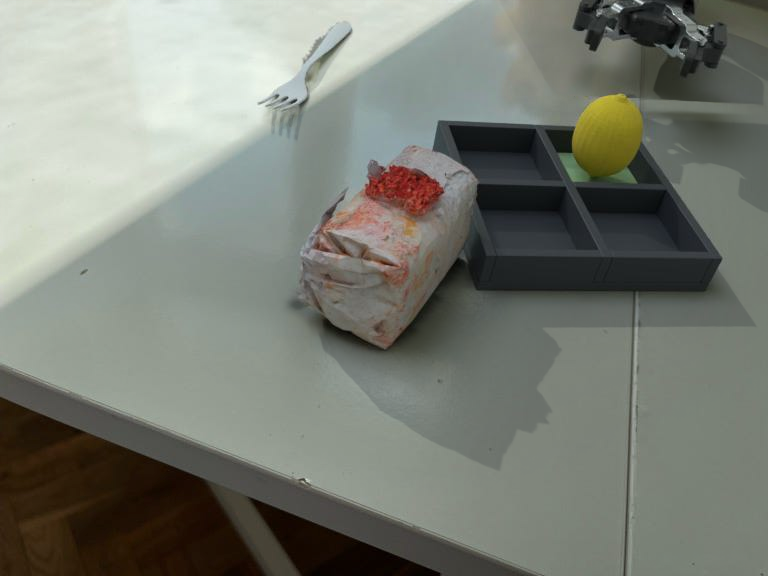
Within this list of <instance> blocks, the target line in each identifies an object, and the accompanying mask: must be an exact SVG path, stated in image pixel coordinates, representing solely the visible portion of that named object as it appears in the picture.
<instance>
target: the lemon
mask: <svg viewBox="0 0 768 576" xmlns="http://www.w3.org/2000/svg"><path fill="white" fill-rule="evenodd" d="M575 126H576V127H575V130H574V134H573V138H572V151H573V155H574V158H575V160H576V162H577V164H578V165H579V166H580V167H581V168H582V169H583V170H584V171H585V172H587V173H588V174H589V176H590V177H591V178H597V177H605V176H611V175H614V174H617V173H619V172H621V171H622V170H623V169H625V168H626V167H627V166H628V165H629V164H630V163H631V161H632V160H633V158H634V157H635V155H636V153H637V151H638V149H639V146H640V143H641V141H642V140H643V132H644V121H643V116H642V113H641V112H640V109H639V108H638V106H637V105H636V104H635V103H634V102H633V101H632V100H630V98H628V97H627V95H626V94H623V93H618V94H610V95H604V96H601V97H599V98H597V99H595V100H593V101H592V102H591V103H590V104H589V105H588V106H586V107H585V109H584V111H582V113H581V115H580V116H579V118H578V121H576V124H575Z"/></svg>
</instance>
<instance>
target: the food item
mask: <svg viewBox="0 0 768 576" xmlns="http://www.w3.org/2000/svg"><path fill="white" fill-rule="evenodd" d="M366 167H367V174H366V175H365V177H366V178H367V180H368V183H367V182H366V183H365V184H364V186H363V188H361V190H360V191H359V192H357V193H356V194H355V195H354V196H353V197H352V199H351V200H350V201H349V202H348V203H347V204H346V205H345V206H343V207H342V208H341V209H340V210H339V211H337V212H336V213H335V211H336V210H337V207H338V205H339V204H340V203H341V202H343V201H344V200H345V197H346V194H347V191H348V190H349V188H350V186H348V187H346V188H344V190H342V191H341V193H340V194H338V195H337V197H335V198H334V199H333V200H332V201H331V202H330V203H329V204H328V205H327V206H326V207H325V208H324V210H323V213H322V216H321V217H320V219H319V221H318V223H316V225H315V226H314V228H313V229H312V230H311V232H310V233H309V235H308V237H307V239H306V242H305V244H304V243H302V246H301V248H300V252H299V256H300V260H301V265H300V268H299V271H298V282H299V286H298V291H297V297H298V300H299V302H300V303H302V304H303V305H304V307H307V306H310V307H312V308H313V309H314V310H315V312H318V313H319V314H320V315H322V316H324V317H325V318H326V319H327V320H328V321H329V322H330V323H331V324H332V325H333V326H335V327H337V328H338V329H341V330H343V331H349V332H351V333H352V334H353V335H355V336H357V337H359V339H361V340H363V341H365V342H368V343H369V344H371V345H374V346H376V347H378V348H380V349H383V350H387V349H388V348H389V347H391V346H392V345H393V344H394V342H395V341H396V340H397V338H398V337H399V336H401V335H402V333H403V332H404V331H405V330H406V329H407V327H409V325H410V324H411V323H412V322H413V321H414V319H415V318H416V317H417V315H418V314H419V312H420V311H421V310H422V309H423V307H424V306H425V304H426V303H427V302H428V301H429V299H430V297H431V296H432V294H433V293H434V292H435V290H436V289H437V288H438V286H439V285H440V283H441V282H442V281H443V279H444V278H445V277H446V275H447V273H448V272H449V270H450V269H451V268H452V267H453V266H454V264H455V262H456V261H457V259H459V256H460V255H461V253H462V251H464V249H463V248H464V246H465V244H466V241H467V238H468V234H469V227H470V221H471V216H472V215H473V208H474V205H475V199H476V196H477V184H478V183H479V181H478V179H476V178H475V175H474V174H473V173H472V172H471V171H470V170H469V169H468V168H467V167H465V166H463V165H461V164H460V163H458V162H456V161H455V160H453V159H452V158H450V157H448V156H447V155H445V154H443V153H440V152H434V151H432V149H429V148H425V147H422V146H419V145H416V144H414V145H413V144H411V145H408V146H405V147H404V148H403V150H402V151H401V152H400V153H399V154H398V155H397V156H396V157H395V158H393V159H392V160H391V162H389V163H388V164H387V165H386V166H385V167H384V166H383V165H379V163H378V161H377V160H374V159H372V158H371V159H370V161H369V162H368V165H367V166H366ZM334 213H335V214H334Z"/></svg>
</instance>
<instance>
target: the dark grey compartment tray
mask: <svg viewBox="0 0 768 576" xmlns="http://www.w3.org/2000/svg"><path fill="white" fill-rule="evenodd" d="M575 127H576V125H575V126H574V125H557V124H556V125H552V124H532V123H514V122H513V123H511V122H510V123H509V122H508V123H507V122H492V121H491V122H487V121H469V120H468V121H464V120H446V119H445V120H444V119H442V120H441V119H438V120H437V125H436V130H435V135H434V141H433V145H432V149H431V151H434V152H440V153H443V154H445V155H447V156H448V157H450V158H452V159H453V160H455V161H456V162H458V163H460V164H461V165H463V166H465V167H467V168H468V169H469V170H470V171H471V172H472V173H473V174H474V175H475V178H476V179H478V181H479V183H478V184H477V196H476V199H475V205H474V208H473V215H472V216H471V221H470V227H469V234H468V238H467V241H466V244H465V246H464V248H463V252H464V255H465V258H466V261H467V264H468V266H469V270H470V274H471V277H472V280H473V283H474V286H475V289H476V290H477V291H622V292H623V291H628V292H629V291H631V292H633V291H635V292H637V291H639V292H640V291H643V292H645V291H646V292H647V291H654V292H655V291H658V292H661V291H662V292H663V291H665V292H666V291H667V292H674V291H675V292H683V291H684V292H706V291H707V289H708V287H709V285H710V283H711V281H712V279H713V278H714V276H715V274H716V273H717V270H718V269H719V267H720V264H721V263H722V261H723V256H722V255H721V254H720V252H719V251H718V249H717V248H716V247H715V245H714V243H713V242H712V240H711V239H710V238H709V236H708V235H707V233H706V232H705V231H704V229H703V228H702V226H701V225H700V224H699V222H698V220H697V219H696V217H695V215H693V213H692V211H690V209H689V208H688V206H687V205H686V203H685V201H684V200H683V199H682V197H681V196H680V195H679V193H678V191H676V189H675V187H674V186H673V184H672V183H671V181H670V180H669V178H668V177H667V176H666V174H665V173H664V171H663V170H662V168H661V167H660V166H659V164H658V163H657V161H656V159H654V157H653V156H652V154H651V153H650V151H649V150H648V148H647V147H646V145H645V144H644V143H643V141H642V140H641V143H640V146H639V149H638V151H637V153H636V155H635V157H634V158H633V160H632V161H631V163H630V164H629V165H628V166H627V167H626V168H625V169H623V170H622V171H621V172H619V173H617V174H614V175H611V176H605V177H597V178H591V177H590V176H589V174H588V173H587V172H585V171H584V170H583V169H582V168H581V167H580V166H579V165H578V164H577V162H576V160H575V158H574V155H573V151H572V138H573V134H574V130H575Z"/></svg>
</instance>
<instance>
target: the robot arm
mask: <svg viewBox="0 0 768 576" xmlns="http://www.w3.org/2000/svg"><path fill="white" fill-rule="evenodd" d="M698 4H699V0H615V1H613V0H580V2H579V4H578V9H577V11H576V14H575V18H574V21H573V25H572V29H573V30H574V31H577V32H584V31H585V30H586V34H585V38H584V44H585V45H588V51H591V52H594V53H596V52H597V50H598V48H599V46H600V44H601V42H602V40H603V39H604V38H608V39H609V40H611V41H613V42H614V41H619V40H627V39H630V40H631V41H633V42H634V43H636V44H637V45H640V46H643V47H648V48H661V49H662V50H663V51H664V52H666V53H667V54H668V56H670V57H671V58H680V59H681V60H682V61H681V64H680V68H679V72H678V76H679V77H682V78H685V79H686V78H687V77H688V74H690V75H695V74H696V73H697V71H698V68H699V67H700V64H701V63H703V65H704V66H705V67H706V68H708V69H713V70H714V69H717V67H718V65H719V62H720V59H721V57H722V56H723V52H724V50H725V49H726V47H727V45H728V26H727V25H728V24H727V23H725V22H723V21H721V20H720V21H714V23H713V24H709V26H705V25H701V24H699V22H698V19H697V18H696V17H695V15H696V12H697V9H698V8H697V7H698Z"/></svg>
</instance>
